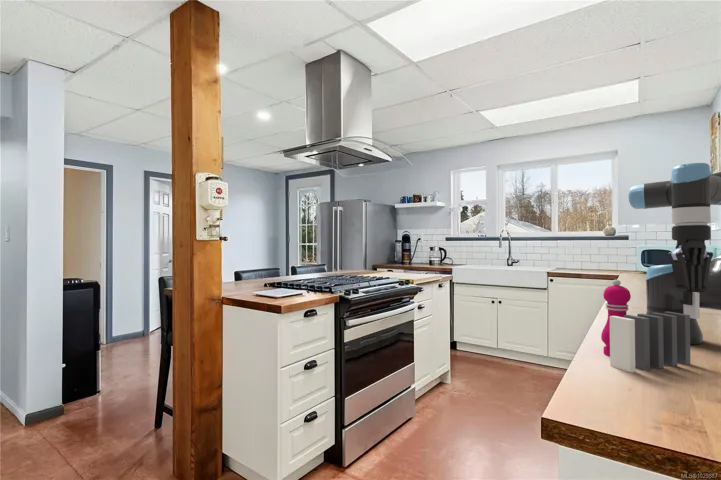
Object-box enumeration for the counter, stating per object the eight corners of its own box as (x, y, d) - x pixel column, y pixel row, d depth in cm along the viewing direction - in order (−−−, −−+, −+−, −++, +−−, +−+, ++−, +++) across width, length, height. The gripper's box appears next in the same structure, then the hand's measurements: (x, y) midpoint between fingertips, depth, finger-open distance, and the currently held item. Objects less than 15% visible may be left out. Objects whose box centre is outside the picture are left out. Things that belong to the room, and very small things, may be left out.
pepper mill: (624, 361, 96) (623, 281, 97) (595, 353, 103) (594, 279, 103) (640, 356, 100) (639, 280, 100) (611, 350, 106) (610, 277, 106)
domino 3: (655, 360, 97) (655, 312, 97) (677, 366, 92) (676, 316, 92) (651, 360, 97) (650, 312, 97) (672, 366, 92) (671, 316, 92)
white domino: (615, 365, 93) (614, 315, 93) (635, 371, 88) (634, 319, 88) (610, 365, 93) (609, 316, 93) (630, 372, 88) (629, 320, 88)
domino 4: (668, 358, 98) (668, 311, 99) (690, 364, 94) (689, 314, 94) (664, 358, 98) (663, 311, 98) (685, 364, 93) (685, 315, 93)
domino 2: (642, 361, 96) (642, 313, 96) (663, 367, 91) (663, 317, 91) (637, 362, 95) (637, 313, 95) (658, 368, 91) (658, 317, 91)
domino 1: (629, 363, 94) (628, 314, 95) (649, 369, 90) (649, 318, 90) (624, 364, 94) (623, 315, 94) (644, 370, 89) (644, 318, 89)
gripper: (692, 226, 103) (692, 314, 103) (656, 225, 99) (657, 316, 99) (725, 224, 96) (726, 319, 96) (689, 223, 92) (690, 322, 92)
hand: (691, 317), depth 97 cm, fingers closed
